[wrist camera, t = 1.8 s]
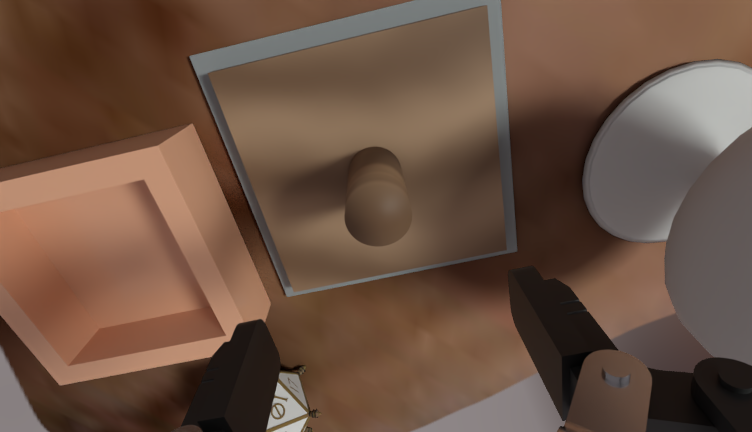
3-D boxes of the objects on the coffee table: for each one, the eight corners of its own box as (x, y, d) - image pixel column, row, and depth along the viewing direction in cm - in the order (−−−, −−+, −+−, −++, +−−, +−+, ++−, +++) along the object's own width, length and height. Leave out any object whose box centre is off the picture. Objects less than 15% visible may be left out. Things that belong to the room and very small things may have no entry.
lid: (213, 71, 22) (155, 93, 16) (482, 5, 21) (532, 2, 15) (296, 283, 29) (277, 358, 23) (502, 242, 28) (542, 308, 22)
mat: (191, 55, 22) (189, 56, 22) (497, -21, 21) (499, -21, 21) (287, 294, 30) (287, 297, 29) (515, 249, 28) (517, 251, 28)
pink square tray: (-20, 173, 25) (-95, 204, 21) (192, 123, 24) (157, 145, 20) (99, 337, 31) (60, 385, 27) (270, 303, 30) (256, 348, 26)
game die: (265, 352, 37) (170, 448, 31) (267, 308, 31) (149, 417, 25) (339, 415, 35) (254, 534, 29) (357, 382, 29) (254, 523, 22)
